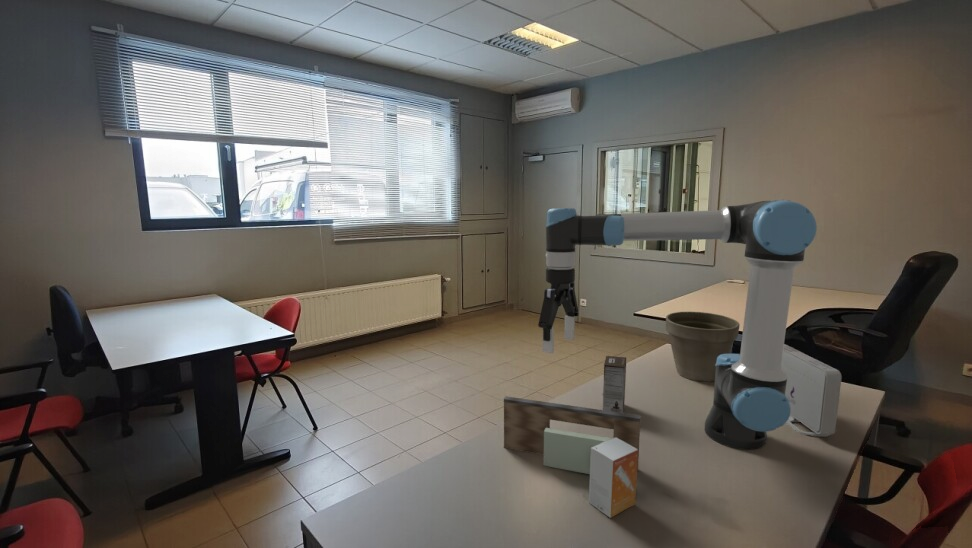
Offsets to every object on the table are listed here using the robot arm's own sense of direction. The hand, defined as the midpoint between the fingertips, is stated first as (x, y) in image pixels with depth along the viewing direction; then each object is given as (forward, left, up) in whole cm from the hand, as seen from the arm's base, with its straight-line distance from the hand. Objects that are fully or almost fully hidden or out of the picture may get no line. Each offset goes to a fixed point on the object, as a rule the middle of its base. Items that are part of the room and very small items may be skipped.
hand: (559, 345), depth 120 cm
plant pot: (-41, -63, -27) cm, 80 cm away
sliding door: (-7, +14, -27) cm, 31 cm away
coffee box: (-13, -23, -27) cm, 38 cm away
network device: (-65, -33, -27) cm, 78 cm away
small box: (-16, +24, -27) cm, 39 cm away
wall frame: (-4, +9, -27) cm, 28 cm away
